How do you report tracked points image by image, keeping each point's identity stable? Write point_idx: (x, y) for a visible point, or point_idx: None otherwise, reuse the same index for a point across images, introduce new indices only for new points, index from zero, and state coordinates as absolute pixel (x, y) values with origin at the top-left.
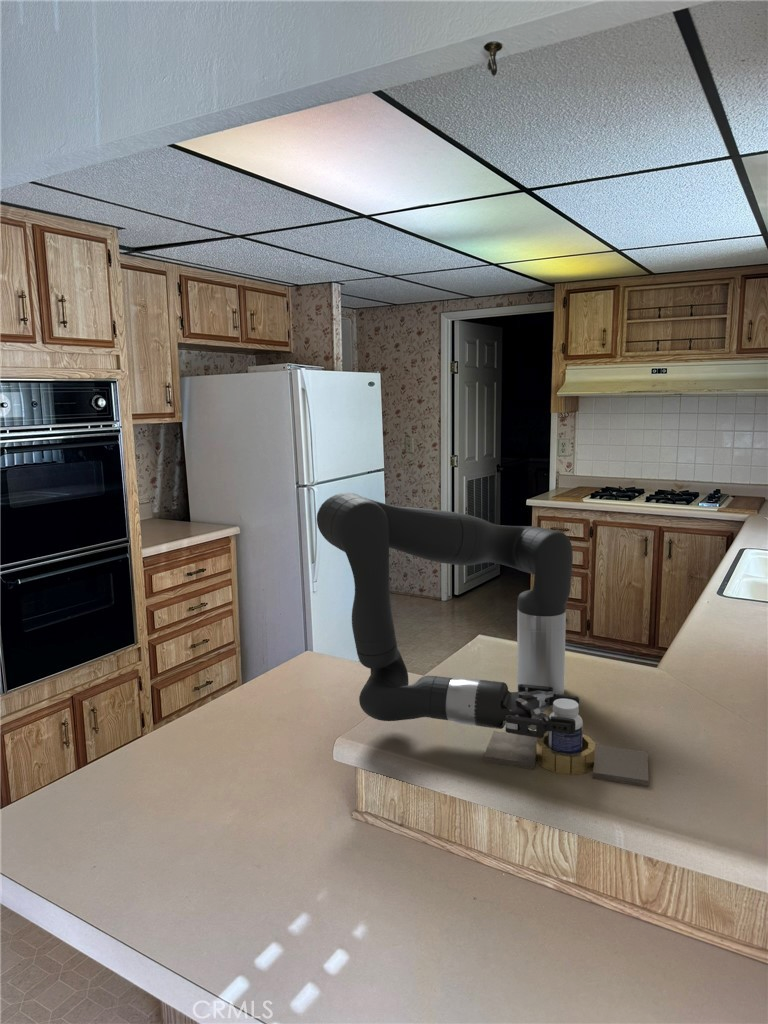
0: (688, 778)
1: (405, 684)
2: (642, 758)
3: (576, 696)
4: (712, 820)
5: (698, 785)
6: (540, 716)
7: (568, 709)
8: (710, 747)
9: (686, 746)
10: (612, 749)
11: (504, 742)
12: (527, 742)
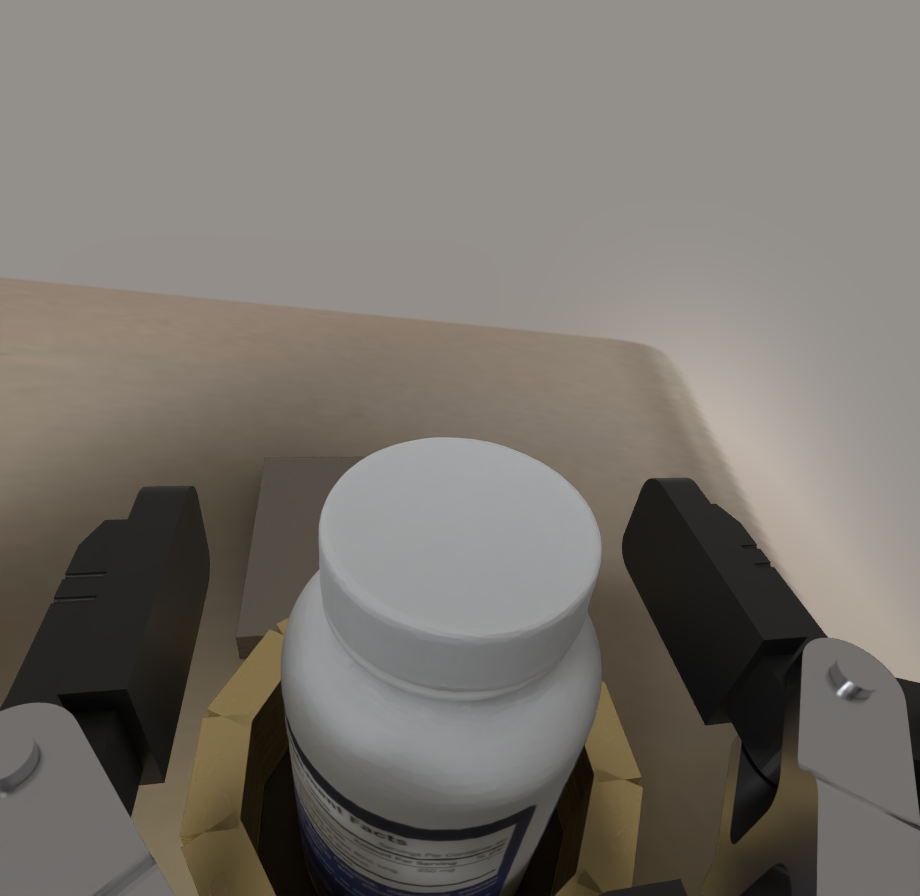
0: (379, 399)
1: None
2: (329, 469)
3: (144, 493)
4: (570, 378)
5: (410, 386)
6: (907, 741)
7: (573, 493)
8: (147, 353)
9: (145, 392)
10: (274, 562)
11: None
12: None
